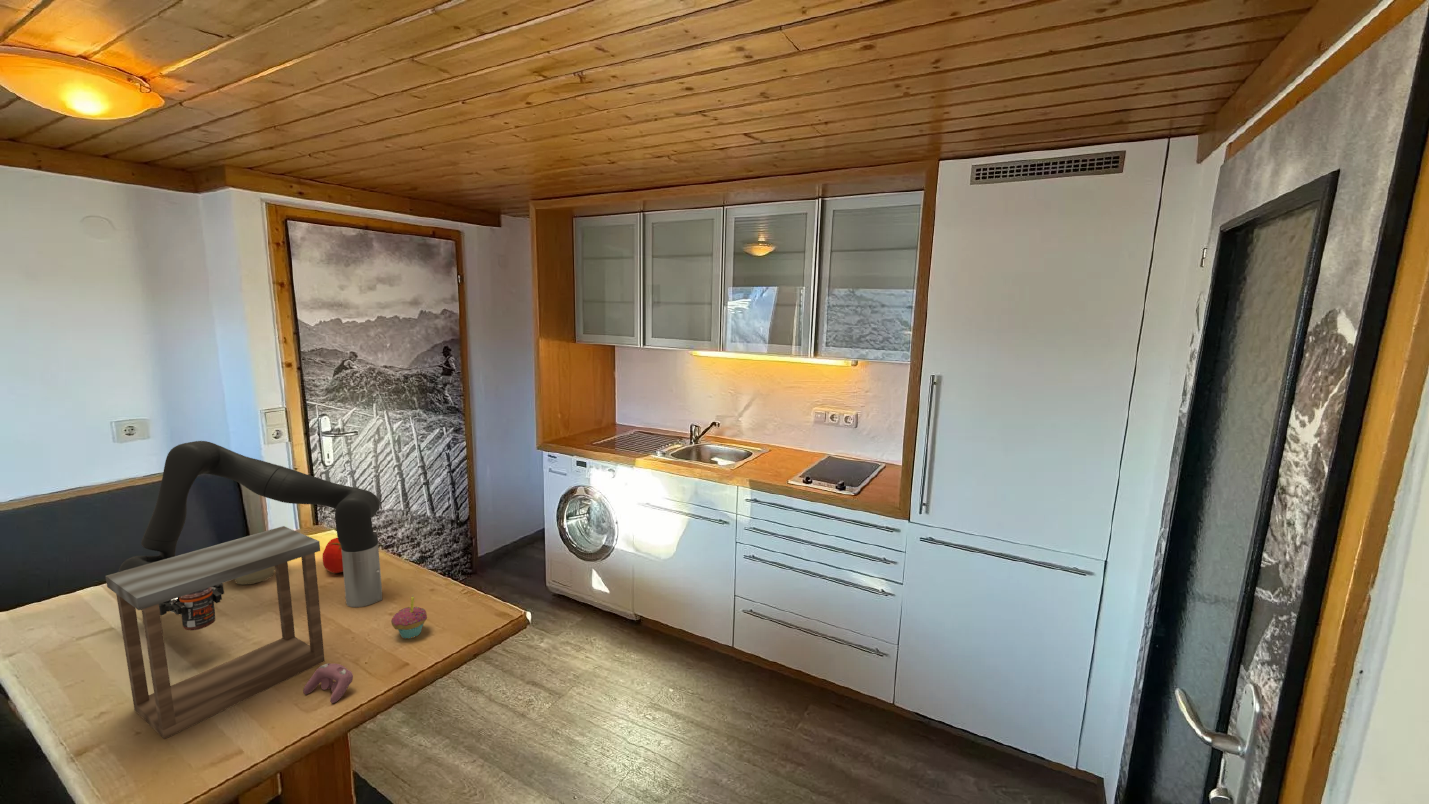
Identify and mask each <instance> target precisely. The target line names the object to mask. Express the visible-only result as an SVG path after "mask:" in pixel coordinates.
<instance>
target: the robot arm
mask: <svg viewBox="0 0 1429 804" xmlns="http://www.w3.org/2000/svg"><path fill="white" fill-rule="evenodd" d="M205 474H206V475H212V476H217V477H221V478H225V479H229V480H231V481H234V482H237V483H238V484H240V485H241V486H243V487H244V488H246V489H248V490H249V491H251V492H252V493H254V494H256V495H258V496H261V497H262V498H268V499H270V500H272V501H273V500H274V501H277V502H281V503H285V504H294V505H315V506H316V505H317V506H324V507H329V508H331V509H335V511H334V520H335V529H336V538H338V540H339V542H340V544H341V550H342V561H343V571H342V573H343V584H344V595H345V596H344V597H345V604H347V605H346V606H347V607H351V608H362V607H367V606H370V605H372V604H375V603H377V602H380V601H382V600H383V590H382V589H383V588H382V575H381V563H380V562H381V561H380V553H379V552H380V551H379V538H378V537H379V536H378V534H377V533H376V532H375V531H374V530H373V522H372V518H373V517H374V516H375V515H376V513H377V512H378V511H379V510H380V506H381V504H380V503H381V502H380V500H379V498H378V496H377V495H376V494H374V493H373V491H372V492H371V491H369V490H366V489H363V488H358V487H353V486H349V485H348V486H347V485H343V484H339V483H335V482H332V481H329V480H326V479H322V478H320V477H317V476H312V475H310V474H308V473H307V474H306V473H304V472H301V471H299V470H295V469H292V468H289V467H286V466H283V465H279V464H278V465H277V464H276V463H272V462H268V461H264V460H261V459H257V458H253V457H249V456H246V455H243V454H240V453H237V452H235V451H233V450H231V449H228V448H226V447H223V446H221V445H219V444H217V443H214V442H210V441H206V440H196V441H190V442H183V443H180V444H178V445H175V446H174V447H172V448H171V449H170V450H169V452H168V453H167V455H166V458H165V463H164V467H163V472H162V478H161V483H160V488H159V492H158V495H157V499H156V503H155V505H154V509H153V511H152V515H151V517H150V519H149V521H148V524H147V527H146V529H145V531H144V532H143V533H144V534H143V536H142V539H141V541H140V544H141V546H142V547H143V548H144V549H146V550H150V551H155V552H159V554H158V555H136V556H135V555H133V556H132V557H129V558H127V559H125V560H124V561H123V562H122V563H121V565H120V566H119V569H118V572H121V571H124V570H128V569H132V568H135V567H139V566H142V565H146V564H150V563H153V562H157V561H160V560H164V559H167V558H171V557H175V556H176V550H177V544H178V541H179V539H180V535H181V534H182V531H183V529H184V526H185V524H186V519H187V515H188V514H187V513H188V512H187V511H188V510H187V503H188V496H189V493H190V490H191V488H192V486H193V484H194V483H195V481H196V479H197V478H198V477H199V476H201V475H205ZM211 588H212V592H213V600H214V604H219V603H221V600H223V598H222V597H223V595H225V589H224V584H223V583H221V584H218V585H215V586H212V587H211ZM159 609H160V616H163V615H167V612H170V613H174V614H175V615H185V614H186V609H185V606H184V605H183V604H181V603H180V599H179V597H178V598H175V599H172V600H169V601H166V602H163V603H160V604H159Z"/></svg>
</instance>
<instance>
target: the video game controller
mask: <svg viewBox="0 0 1429 804" xmlns="http://www.w3.org/2000/svg"><path fill="white" fill-rule="evenodd" d="M353 679H354V674H353V672H352V671H351V670H349V669H348V668H347V667H346V666H344V665H342V664H340V663H325V664H323V665H319V667H318V668H317V669H316V670H315V671H314V673H313V674H312V676H311V677H310V678H309V679H308V680H307V682H306V684H305V685H304V687H303V694H304V695H309V694H311V693H312V692H313V691H314V690H315V689H317V687H318V686H319V685H320V688H321V689H322V690H330V691H331V692H332V693H331V695H330V698H329V701H330V703H331V704H335V703H337V702H338V701H339V700H340V699H341V698H342V697H343V696H344V694H345V693H346V691H347V689H348V688H349V685H351V683H352V682H353Z"/></svg>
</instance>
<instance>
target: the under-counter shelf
mask: <svg viewBox="0 0 1429 804" xmlns="http://www.w3.org/2000/svg"><path fill="white" fill-rule="evenodd" d="M320 545H321V544H320V540H318V539H315V538H313V537H310V536H308V535H306V534H303V533H301V532H299V531H297V530H294V529H292V528H289V527H287V526H285V525H282V526H279V527H276V528H272V529H268V530H265V531H262V532H258V533H254V534H251V535H247V536H244V537H239V538H237V539H233V540H228V541H225V542H222V543H218V544H215V545H212V546H208V547H207V546H206V547H204V548H200V549H196V550H193V551H190V552H186V553H182V554H179V555H175V557H171V558H167V559H164V560H160V561H157V562H153V563H150V564H146V565H142V566H139V567H135V568H132V569H128V570H124V571H121V572H119V571H117V572H114V573H111V574H108V575H105V581H106V582H105V583H106V586H107V588H108V589H109V590H111V591H112V592H113V593H115V594H116V601H117V607H118V612H119V613H118V614H119V615H118V616H119V620H120V625H121V632H122V639H123V646H124V650H125V651H124V652H125V657H126V666H127V671H128V678H129V684H130V690H131V696H132V703H133V708H134V712H135V713H137V714H138V715H139V716H140V717H141V718H142V719H143V720H144V721H145V722H146V723H147V724H148V725H149V726H150V727H151V728H152V729H153V730H155V732H156V733H157V734H158V735H160V737H161V738H162V739H163V740H166V739H168V738H170V737H172V736H174V735H176V734H178V733H180V732H183V731H184V730H186V729H188V728H190V727H193V726H195V725H196V724H200V723H201V722H203V721H205V720H207V719H209V718H212V717H213V716H215V715H217V714H219V713H221V712H223V711H226V710H227V709H229V708H231V707H232V708H233V707H234V706H236V705H238V704H240V703H242V702H244V701H246V700H248V699H251V698H253V697H255V696H256V695H258V694H260V693H262V692H264V691H266V690H269V689H271V688H273V687H275V686H277V685H279V684H280V683H283V682H285V681H288V680H289V679H292V678H293V677H295V676H298V675H300V674H302V673H304V672H305V671H307V670H309V669H312V668H315V667H316V666H318V665H320V664H322V663H324V662H326V661H325V649H324V639H323V629H322V618H321V616H322V615H321V606H320V595H319V586H318V585H319V584H318V573H317V563H316V553H318V552H321V546H320ZM300 558H301V567H302V577H303V578H302V579H303V587H304V589H303V590H304V597H305V598H304V600H305V606H306V607H305V610H306V618H307V629H308V630H307V631H308V640H309V644H308V643H306V642H305V641H303V640H302V639H299V638H298V637H296V633H295V624H294V622H295V621H294V615H293V605H292V604H293V603H292V594H291V585H290V574H289V564H288V562H291V561H294V560H297V559H300ZM273 566H275V570H274V574H275V582H276V590H277V601H278V610H279V617H280V618H279V619H280V620H279V621H280V628H281V638H279V639H277V640H275V641H272V642H270V643H268V644H265V645H263V646H261V647H257V649H253V650H251V651H249V652H246V653H244V654H242V655H239V656H237V657H235V658H233V659H230V660H228V661H226V662H223V663H221V664H219V665H217V666H214V667H211V668H209V669H206V670H205V671H203V672H201V673H200V672H199V673H197V674H195V675H192V676H190V677H187V678H185V679H184V680H180V681H179V682H175V684H172V685H171V680H170V675H169V674H170V673H169V667H168V666H169V665H168V659H167V653H166V652H167V651H166V646H165V645H166V644H165V639H164V632H163V624H162V618H161V616H162V615H160V609H159V604H160V603H163V602H166V601H169V600H172V599H175V598H178V597H181V596H184V595H187V594H190V593H193V592H197V591H200V590H203V589H206V588H209V587H212V586H215V585H218V584H221V583H226V582H227V583H228V582H229V581H233V580H235V579H236V578H239V577H242V576H245V575H248V574H251V573H254V572H257V571H261V570H264V569H267V568H270V567H273ZM136 610H137V611H141V616H142V620H143V621H142V622H143V629H144V633H145V641H146V649H147V655H148V661H149V667H150V668H149V669H150V677H151V681H152V688H153V693H151V694H149V689H148V683H147V682H148V681H147V675H146V668H145V662H144V656H143V655H144V654H143V648H142V641H141V636H140V629H139V622H138V616H137V611H136Z"/></svg>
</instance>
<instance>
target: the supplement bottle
mask: <svg viewBox="0 0 1429 804" xmlns="http://www.w3.org/2000/svg"><path fill="white" fill-rule="evenodd" d="M179 599H180V603H181V604H183V605H184V606H185V609H186V614H185V615H181V622H182V628H183V629H184V630H186V631H197V630H201V629H204V628H206V627H209V626H210V625H213V624H214V623H215V621H216V610H215V609H216V608H215V602H214V600H213V592H212V588H211V587H209V588H206V589H203V590H200V591H197V592H193V593H190V594H187V595H184V596H181V597H179Z"/></svg>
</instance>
